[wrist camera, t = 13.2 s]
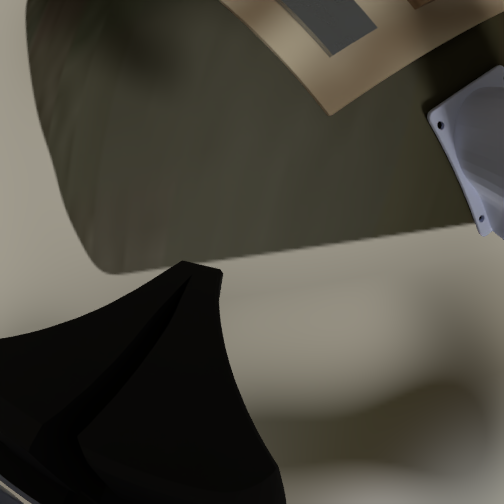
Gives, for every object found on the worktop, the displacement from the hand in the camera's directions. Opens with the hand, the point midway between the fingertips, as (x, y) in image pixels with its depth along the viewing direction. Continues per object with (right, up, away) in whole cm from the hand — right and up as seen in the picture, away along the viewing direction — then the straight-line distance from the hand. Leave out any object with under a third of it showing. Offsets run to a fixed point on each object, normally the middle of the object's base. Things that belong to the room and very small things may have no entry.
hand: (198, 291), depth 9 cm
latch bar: (+4, +15, +1) cm, 15 cm away
